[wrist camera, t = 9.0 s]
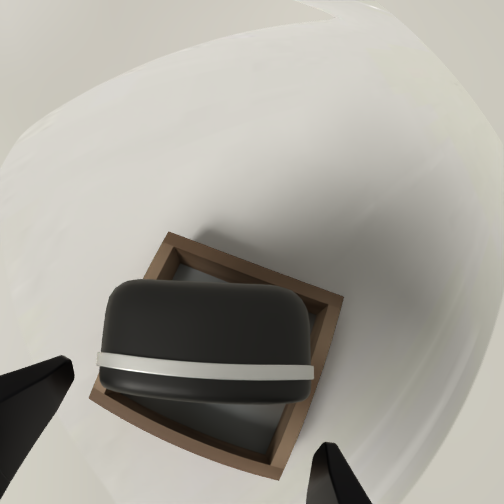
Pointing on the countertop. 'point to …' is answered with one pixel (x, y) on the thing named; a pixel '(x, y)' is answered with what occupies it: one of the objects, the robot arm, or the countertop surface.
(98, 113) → the countertop surface
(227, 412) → the wooden tray
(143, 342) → the battery charger
